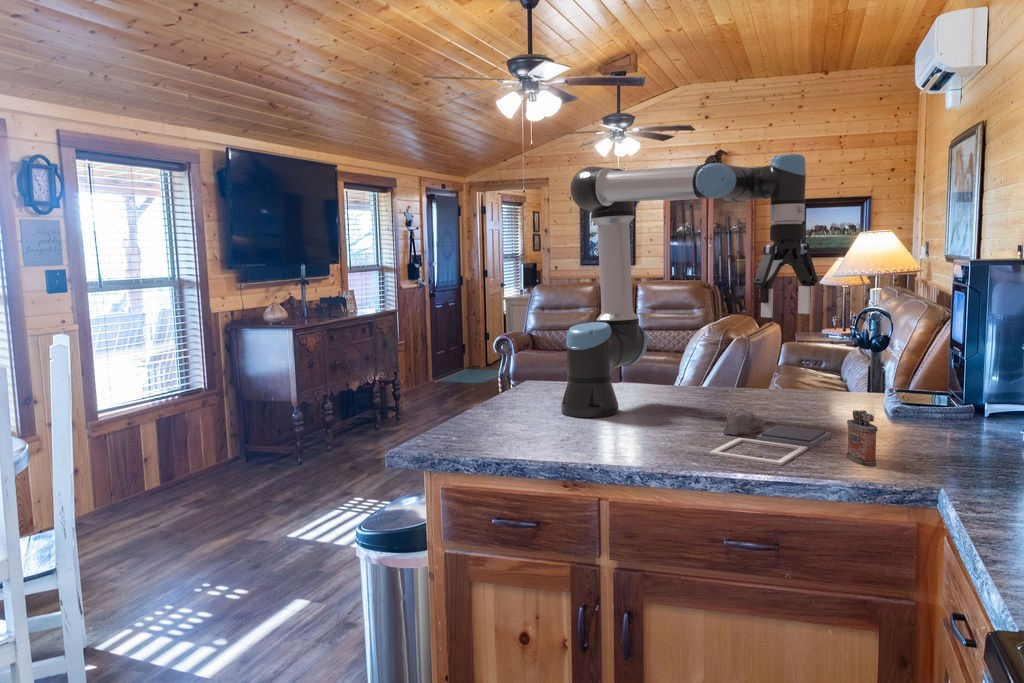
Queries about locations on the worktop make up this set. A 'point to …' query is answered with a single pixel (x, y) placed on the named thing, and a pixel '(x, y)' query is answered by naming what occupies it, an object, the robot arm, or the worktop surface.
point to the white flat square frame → (780, 462)
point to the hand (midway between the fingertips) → (785, 315)
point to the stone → (742, 422)
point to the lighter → (862, 439)
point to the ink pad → (794, 436)
